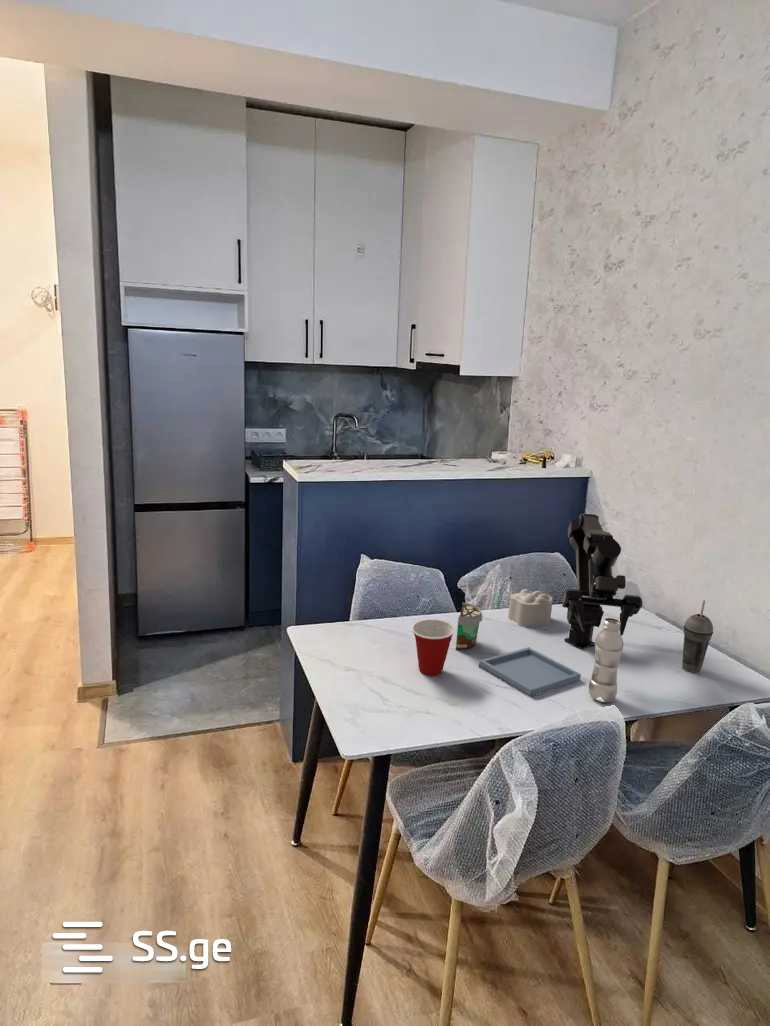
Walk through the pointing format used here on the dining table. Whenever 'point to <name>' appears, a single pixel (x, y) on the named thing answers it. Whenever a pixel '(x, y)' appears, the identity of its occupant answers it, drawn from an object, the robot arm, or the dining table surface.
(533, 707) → the dining table surface
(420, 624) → the plastic cup
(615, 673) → the plastic bottle
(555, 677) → the blue-gray tray
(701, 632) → the beverage cup
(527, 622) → the beige lumpy box
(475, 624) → the food container
